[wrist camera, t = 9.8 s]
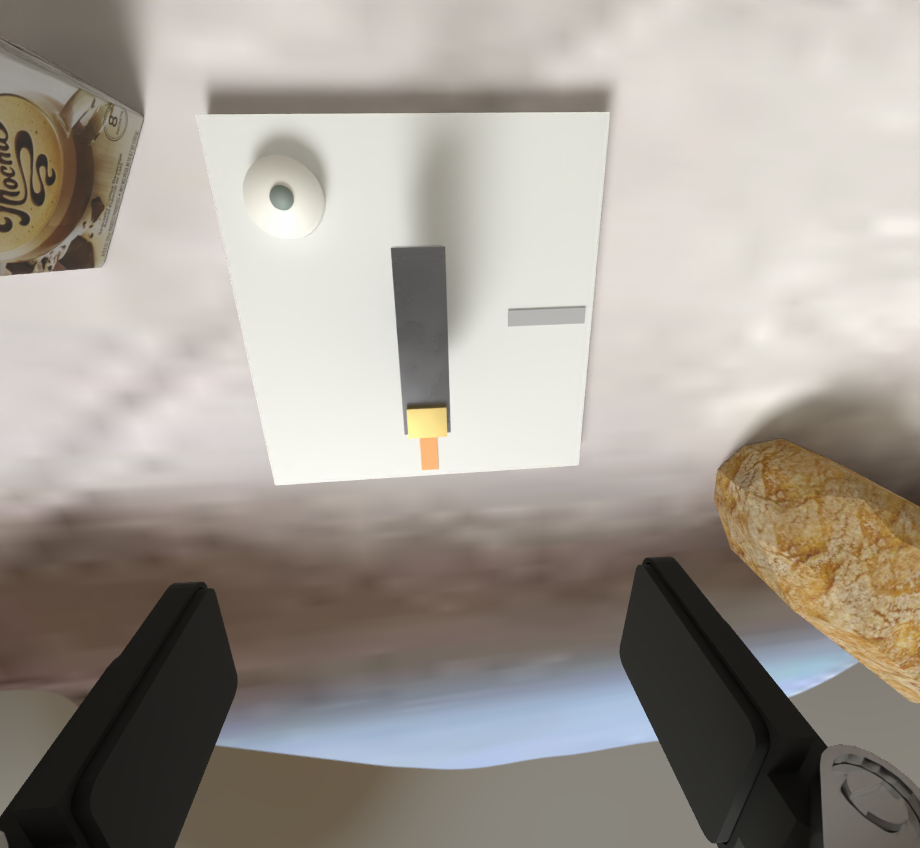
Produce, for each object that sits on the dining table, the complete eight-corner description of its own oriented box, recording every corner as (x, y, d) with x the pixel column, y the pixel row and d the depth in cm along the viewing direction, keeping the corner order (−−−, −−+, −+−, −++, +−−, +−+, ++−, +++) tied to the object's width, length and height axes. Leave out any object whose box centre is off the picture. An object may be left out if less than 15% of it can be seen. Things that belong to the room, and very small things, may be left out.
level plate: (281, 474, 33) (269, 495, 30) (207, 121, 24) (181, 107, 22) (571, 456, 34) (585, 474, 32) (599, 118, 26) (620, 105, 23)
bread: (676, 504, 37) (760, 591, 28) (780, 407, 35) (911, 469, 26) (880, 667, 49) (989, 768, 39) (972, 603, 46) (1111, 695, 37)
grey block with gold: (397, 245, 26) (390, 248, 19) (438, 244, 26) (445, 246, 19) (407, 393, 29) (404, 439, 23) (443, 391, 30) (451, 436, 23)
